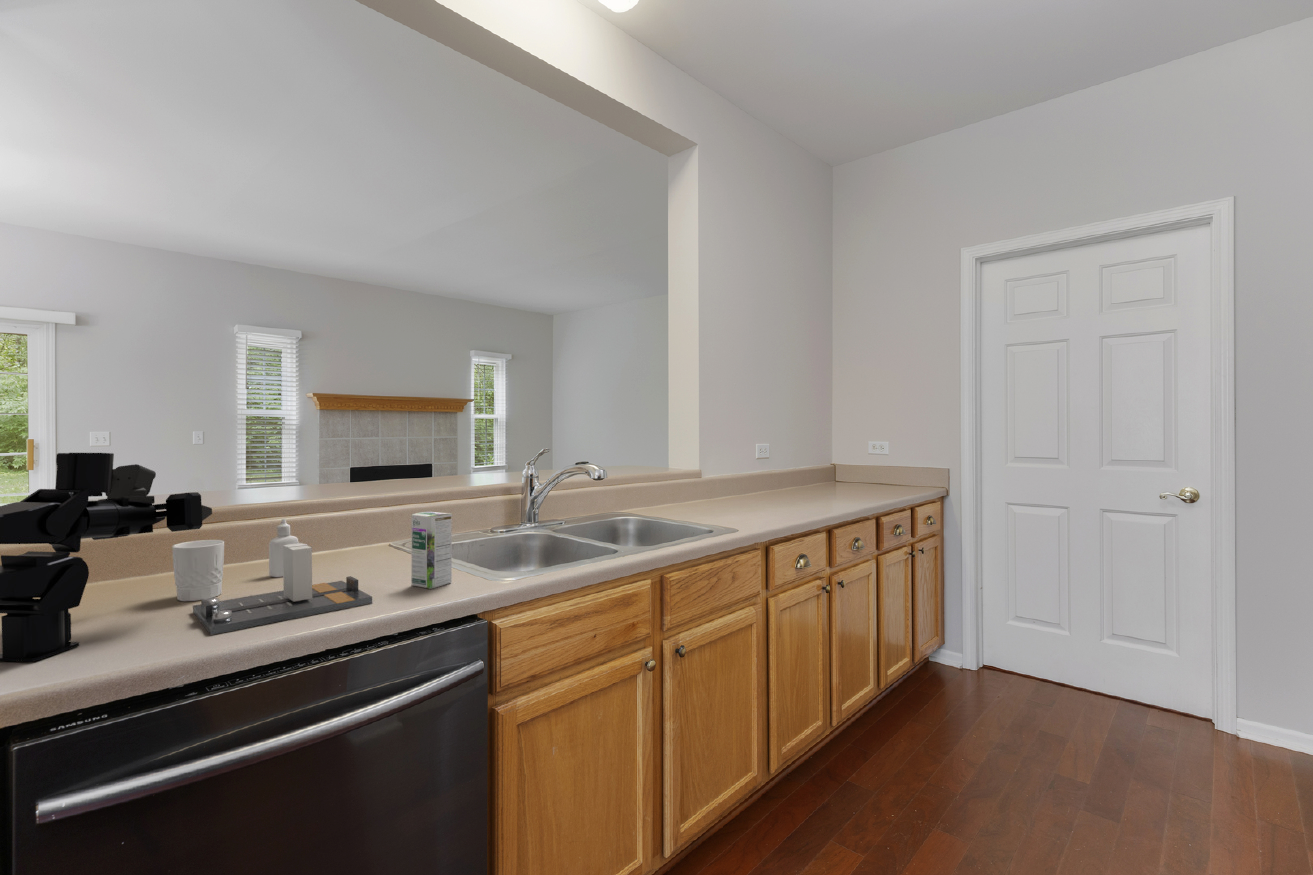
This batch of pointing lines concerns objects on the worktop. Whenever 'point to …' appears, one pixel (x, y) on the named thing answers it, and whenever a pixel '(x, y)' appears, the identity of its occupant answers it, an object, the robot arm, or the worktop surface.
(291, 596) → the fader
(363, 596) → the board
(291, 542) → the eye dropper bottle
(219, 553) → the white cup
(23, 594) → the robot arm
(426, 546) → the syrup box
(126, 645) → the worktop surface
